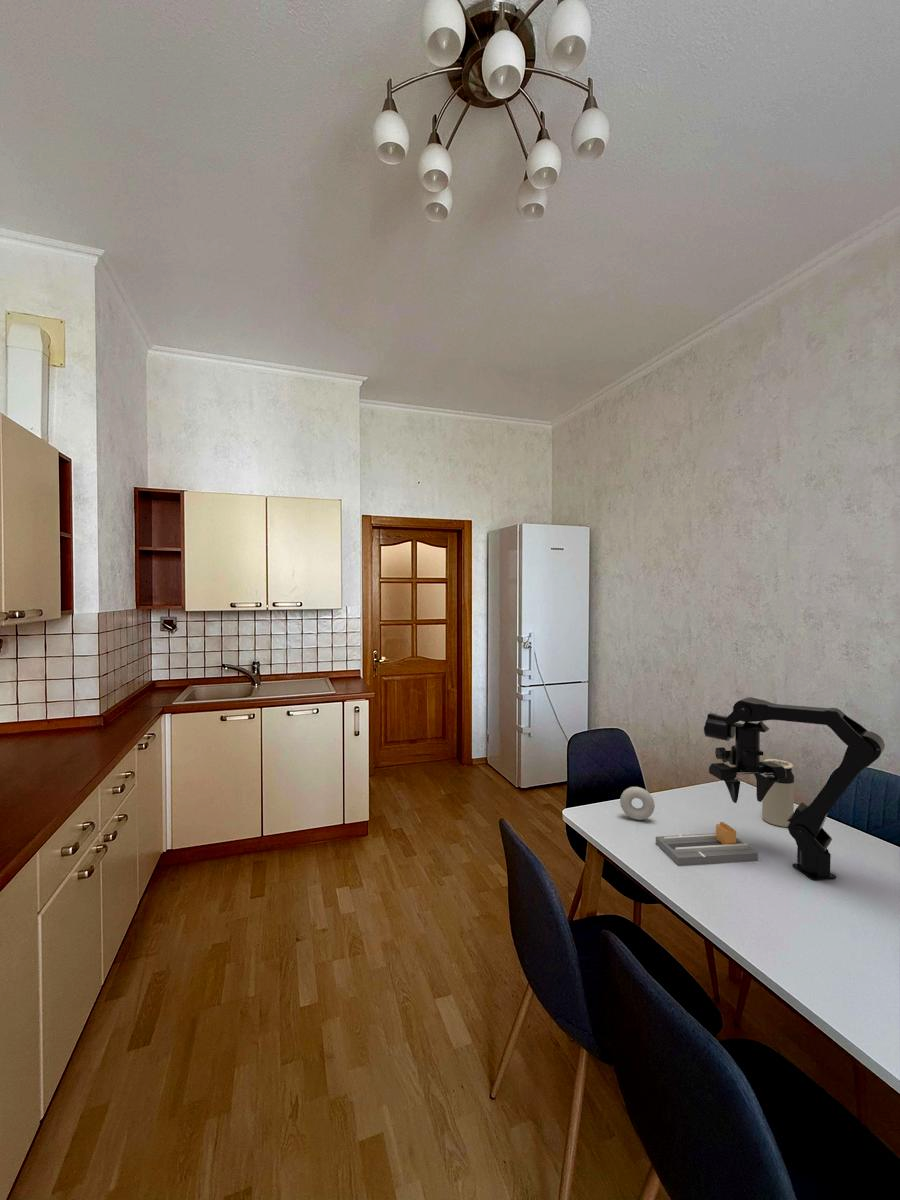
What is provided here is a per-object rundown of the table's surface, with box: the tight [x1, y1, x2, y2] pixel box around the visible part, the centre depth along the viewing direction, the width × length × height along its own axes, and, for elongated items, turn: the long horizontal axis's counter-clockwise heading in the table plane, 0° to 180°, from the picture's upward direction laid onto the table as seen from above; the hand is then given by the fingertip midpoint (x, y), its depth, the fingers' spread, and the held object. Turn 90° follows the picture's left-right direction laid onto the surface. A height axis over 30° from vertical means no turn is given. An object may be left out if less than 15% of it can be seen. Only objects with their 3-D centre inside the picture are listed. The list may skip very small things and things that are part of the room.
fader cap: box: [715, 821, 737, 845], centre depth 133 cm, size 4×3×5 cm
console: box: [655, 832, 759, 867], centre depth 132 cm, size 12×22×3 cm, turn 96°
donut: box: [619, 786, 656, 821], centre depth 151 cm, size 10×4×10 cm, turn 69°
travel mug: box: [761, 758, 795, 828], centre depth 150 cm, size 8×8×18 cm
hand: (746, 801), depth 134 cm, fingers open, 7 cm apart
